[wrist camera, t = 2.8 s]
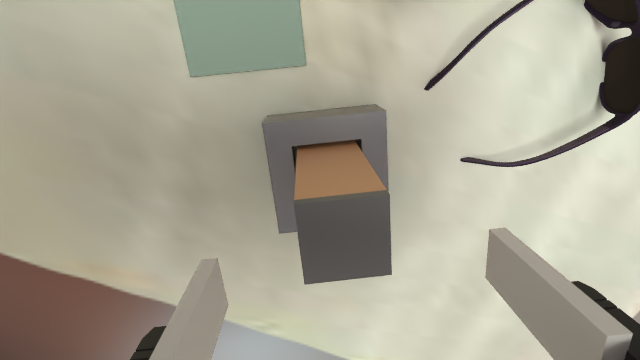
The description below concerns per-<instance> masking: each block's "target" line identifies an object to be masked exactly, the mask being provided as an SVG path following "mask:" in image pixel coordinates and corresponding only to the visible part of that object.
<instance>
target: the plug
mask: <svg viewBox="0 0 640 360" xmlns="http://www.w3.org/2000/svg"><path fill="white" fill-rule="evenodd" d="M294 210H295V217H296V224H297V232H298V239H299V247H300V254H301V261H302V269H303V276H304V284H313V283H322V282H331V281H340V280H349V279H358V278H367V277H375V276H384V275H392V268H391V231H390V194H389V193H388V191H387V190H386V188H385V186H384V185H383V183H382V182H381V180H380V179H379V177H378V176H377V174H376V173H375V171H374V170H373V168H372V166H371V165H370V163H369V162H368V160H367V159H366V157H365V156H364V154H363V153H362V151H361V150H360V148H359V146H358V145H357V143H356V142H355V140H346V141H337V142H328V143H318V144H309V145H299V146H297V159H296V176H295V193H294Z"/></svg>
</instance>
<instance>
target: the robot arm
mask: <svg viewBox="0 0 640 360" xmlns="http://www.w3.org/2000/svg"><path fill="white" fill-rule="evenodd" d="M485 278H486V279H487V280H488V281H489V282H490V284H491V285H492V286H493V287H494V288H495V290H496V291H497V292H498V293H499V294H500V296H501V297H502V298H503V299H504V300H505V302H506V303H507V304H508V305H509V306H510V307H511V309H512V310H513V311H514V312H515V313H516V315H517V316H518V317H519V318H520V319H521V321H522V322H523V323H524V324H525V325H526V327H527V328H528V329H529V330H530V331H531V333H532V334H533V335H534V336H535V337H536V339H537V340H538V341H539V342H540V343H541V345H542V346H543V347H544V348H545V349H546V351H547V352H548V353H549V354H550V355H551V357H552V358H553V359H554V360H640V324H639V323H637V322H636V321H635V320H633V319H632V318H631V317H630V316H628V315H627V314H626V313H624V312H623V311H622V310H621V309H618V308H617V306H616V305H614V304H613V303H612V302H610V301H609V300H608V301H607V298H605V297H604V296H603V295H602V294H600V293H599V292H598V291H596V290H595V289H594V288H592V287H590V286H588V285H586V284H583V283H581V282H579V281H574V282H570V281H569V280H568V279H567V278H565V277H564V276H563V275H562V274H561V273H559V272H558V271H557V270H556V269H555V268H553V267H552V266H551V265H550V264H548V263H547V262H546V261H545V260H544V259H542V258H541V257H540V256H539V255H538V254H536V253H535V252H534V251H533V250H532V249H530V248H529V247H528V246H527V245H526V244H524V243H523V242H522V241H521V240H519V239H518V238H517V237H516V236H515V235H513V234H512V233H511V232H510V231H509V230H507V229H506V228H498V229H489V241H488V253H487V265H486V277H485ZM227 308H228V301H227V297H226V293H225V288H224V284H223V280H222V276H221V271H220V267H219V263H218V258H216V259H206V260H201V262H200V264H199V266H198V268H197V270H196V271H195V273H194V275H193V277H192V279H191V281H190V283H189V285H188V287H187V289H186V290H185V292H184V294H183V296H182V298H181V300H180V302H179V304H178V306H177V308H176V309H175V311H174V313H173V315H172V317H171V319H170V321H169V323H168V325H167V326H162V327H154V328H153V329H152V330H151V331H150V332H149V333H148V334H147V335H146V336H145V337H144V338H143V339H142V340H141V342H140V344H139V345H138V347H137V349H136V352H134V354H133V356H132V357H131V359H130V360H211V358H212V355H213V352H214V348H215V345H216V342H217V339H218V336H219V333H220V330H221V327H222V323H223V320H224V317H225V314H226V311H227Z"/></svg>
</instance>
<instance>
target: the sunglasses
mask: <svg viewBox="0 0 640 360" xmlns="http://www.w3.org/2000/svg"><path fill="white" fill-rule="evenodd" d="M532 1H533V0H523V1H521V2H520V3H519V4H517V5H516V6H514V7H513V8H511V9H510V10H509V11H507V12H506V13H505V14H503V15H502V16H501V17H499V18H498V19H497V20H495V21H494V22H493V23H492V24H490V25H489V26H488V27H487V28H486V29H484V30H483V31H482V32H481V33H480V34H479V35H478V36H477V37H476V38H475V39H473V40H472V41H471V42H470V43H469V44H468V45H467V46H466V47H465V48H464V50H463V51H462V52H461V53H460V54H459V55H458V56H457V57H456V58H455V59H454V60H453V61H452V62H451V63H450V64H449V65H448V66H446V67H445V68H444V69H443V70H442V71H441V72H440V73H438V74H437V75H436V76H435V77H434V78H433V79H432V80H430V82H429V83H428V84H427V86H426V87H425V88H424V89H425V90H429V89H431V88H432V87H433V86H434V85H435V84H436V83H438V82H439V81H440V80H441V79H442V78H443V77H444V76H445V75H446V74H447V73H448V72H449V71H450V70H451V69H452V68H453V67H454V66H455V65H456V64H457V63H458V62H459V61H460V60H461V59H462V58H463V57H464V56H465V55H466V54H467V53H468V52H469V51H470V50H471V49H472V48H473V47H474V46H475V45H476V44H477V43H478V42H479V41H481V40H482V39H483V38H484V37H485V36H486V35H487V34H488V33H489V32H490V31H492V30H493V29H494V28H495V27H497V26H498V25H499V24H500V23H502V22H503V21H505V20H506V19H507V18H509V17H510V16H512V15H513V14H514V13H516V12H517V11H519V10H520V9H522V8H523V7H525V6H526V5H528V4H529V3H530V2H532ZM584 6H585V8H586V9H587V10H588V11H589V12H590V13H591V14H592V15H593V16H594V17H596V18H597V19H598V20H599V21H600V22H602V23H603V24H604V25H605V26H607V27H608V28H613V29H618V28H630V29H631V31H632V34H631V35H630V36H628V37H624V38H620V39H617V40H615V41H613V42H611V43H610V44H609V45H608V47H607V48H606V50H605V52H604V55H603V58H602V61H603V62H606V66H605V77H604V82H602V83H600V99H601V103H602V106H603V107H604V108H605V109H606V110H607V111H608V112H610V113H613V114H615V117H614V118H612V119H611V120H609V121H608V122H606V123H605V124H603V125H601V126H599V127H597V128H596V129H594V130H592V131H590V132H589V133H587V134H585V135H583V136H581V137H579V138H577V139H575V140H573V141H571V142H569V143H567V144H565V145H563V146H560V147H558V148H556V149H554V150H552V151H550V152H547V153H545V154H542V155H539V156H537V157H533V158H530V159H526V160H521V161H517V162H493V161H486V160H481V159H475V158H470V157H467V158H462V159H461V161H462V162H469V163H476V164H484V165H490V166H499V167H515V166H523V165H528V164H532V163H535V162H539V161H542V160H545V159H548V158H551V157H554V156H556V155H559V154H561V153H564V152H566V151H569V150H571V149H573V148H575V147H578V146H580V145H582V144H584V143H586V142H588V141H590V140H592V139H594V138H596V137H598V136H600V135H602V134H604V133H606V132H608V131H610V130H612V129H614V128H616V127H618V126H620V125H621V124H623V123H625V122H626V121H628V120H629V119H630V118H631V117H632V116H633V115H635V114H637V113H638V112H639V111H640V0H585V3H584Z"/></svg>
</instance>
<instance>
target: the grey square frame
mask: <svg viewBox="0 0 640 360" xmlns="http://www.w3.org/2000/svg"><path fill="white" fill-rule="evenodd" d="M262 126H263V132H264V138H265V145H266V151H267V158H268V164H269V170H270V177H271V183H272V189H273V196H274V202H275V209H276V215H277V221H278V228H279V234H280V233H289V232H297V224H296V217H295V210H294V193H295V176H296V157H295V149H294V146H299V145H309V144H318V143H328V142H337V141H346V140H355V142H356V143H357V145H358V146H359V148H360V150H361V151H362V153H363V154H364V156H365V157H366V159H367V160H368V162H369V163H370V165H371V166H372V168H373V170H374V171H375V173H376V174H377V176H378V177H379V179H380V180H381V182H382V183H383V185H384V186H385V188H386V190H387V191H388V163H387V128H386V110H384V109H382V108H381V107H379V106H378V105H376V104H375V105H365V106H356V107H346V108H337V109H327V110H318V111H308V112H299V113H289V114H280V115H270V116H267V117H266V118H265V120H264V122H263V123H262Z"/></svg>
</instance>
